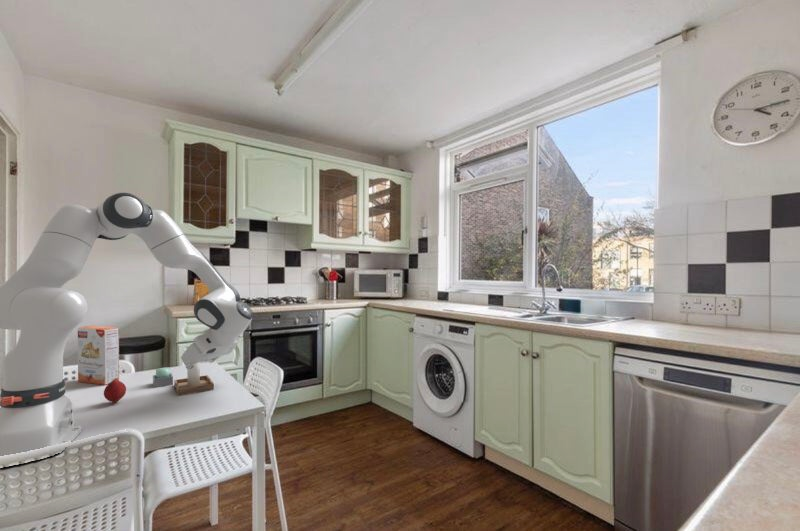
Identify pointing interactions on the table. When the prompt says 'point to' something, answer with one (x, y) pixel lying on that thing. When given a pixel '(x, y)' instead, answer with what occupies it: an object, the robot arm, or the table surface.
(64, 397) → the robot arm
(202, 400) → the table surface
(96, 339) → the cracker box
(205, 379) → the tray
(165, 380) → the button housing
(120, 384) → the onion
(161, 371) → the button
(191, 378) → the white bottle
